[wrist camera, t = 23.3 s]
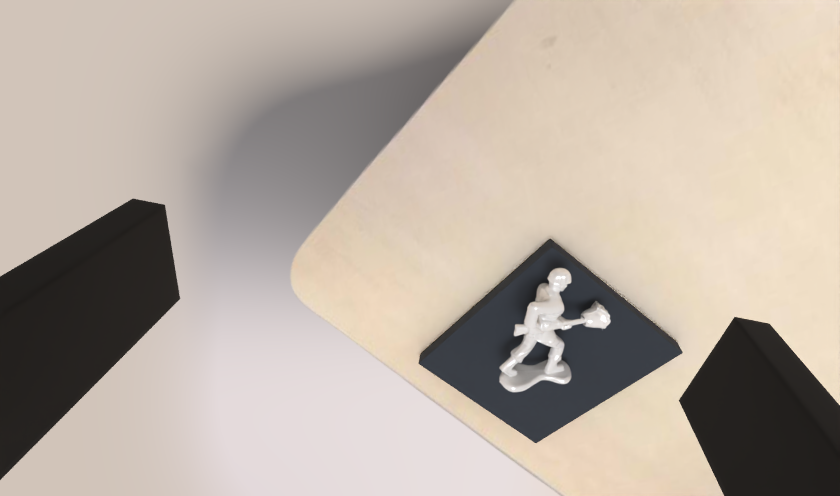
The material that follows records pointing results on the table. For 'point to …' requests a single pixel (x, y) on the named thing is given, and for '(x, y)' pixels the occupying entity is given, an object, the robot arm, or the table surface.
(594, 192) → the table surface
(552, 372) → the figurine
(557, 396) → the display mat
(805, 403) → the robot arm
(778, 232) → the table surface
